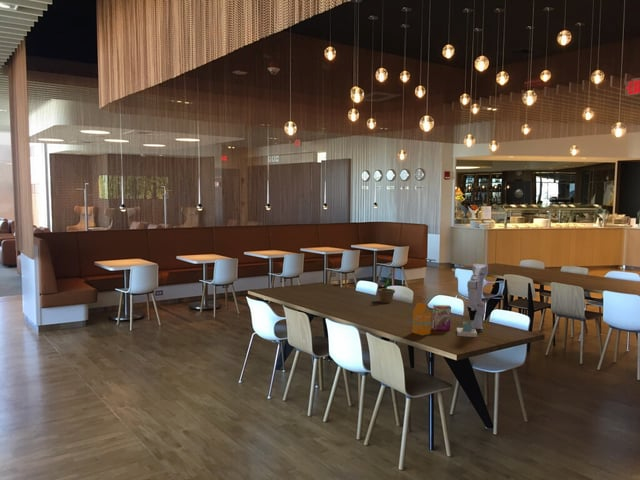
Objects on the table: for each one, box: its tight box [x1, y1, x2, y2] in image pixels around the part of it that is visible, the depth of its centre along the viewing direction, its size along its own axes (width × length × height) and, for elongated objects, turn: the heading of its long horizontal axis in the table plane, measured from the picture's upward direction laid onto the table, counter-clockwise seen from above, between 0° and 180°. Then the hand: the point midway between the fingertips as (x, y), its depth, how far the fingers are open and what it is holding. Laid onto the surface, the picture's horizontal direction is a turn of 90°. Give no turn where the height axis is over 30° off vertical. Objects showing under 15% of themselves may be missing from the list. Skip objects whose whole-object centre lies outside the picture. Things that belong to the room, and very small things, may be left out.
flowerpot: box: [377, 267, 396, 304], centre depth 446 cm, size 14×14×30 cm
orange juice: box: [412, 302, 432, 336], centre depth 342 cm, size 8×9×20 cm
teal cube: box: [462, 321, 472, 332], centre depth 342 cm, size 5×5×5 cm
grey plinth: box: [456, 327, 478, 338], centre depth 342 cm, size 12×12×3 cm
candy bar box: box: [431, 304, 452, 331], centre depth 353 cm, size 11×5×16 cm, turn 92°
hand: (471, 319), depth 343 cm, fingers open, 7 cm apart
